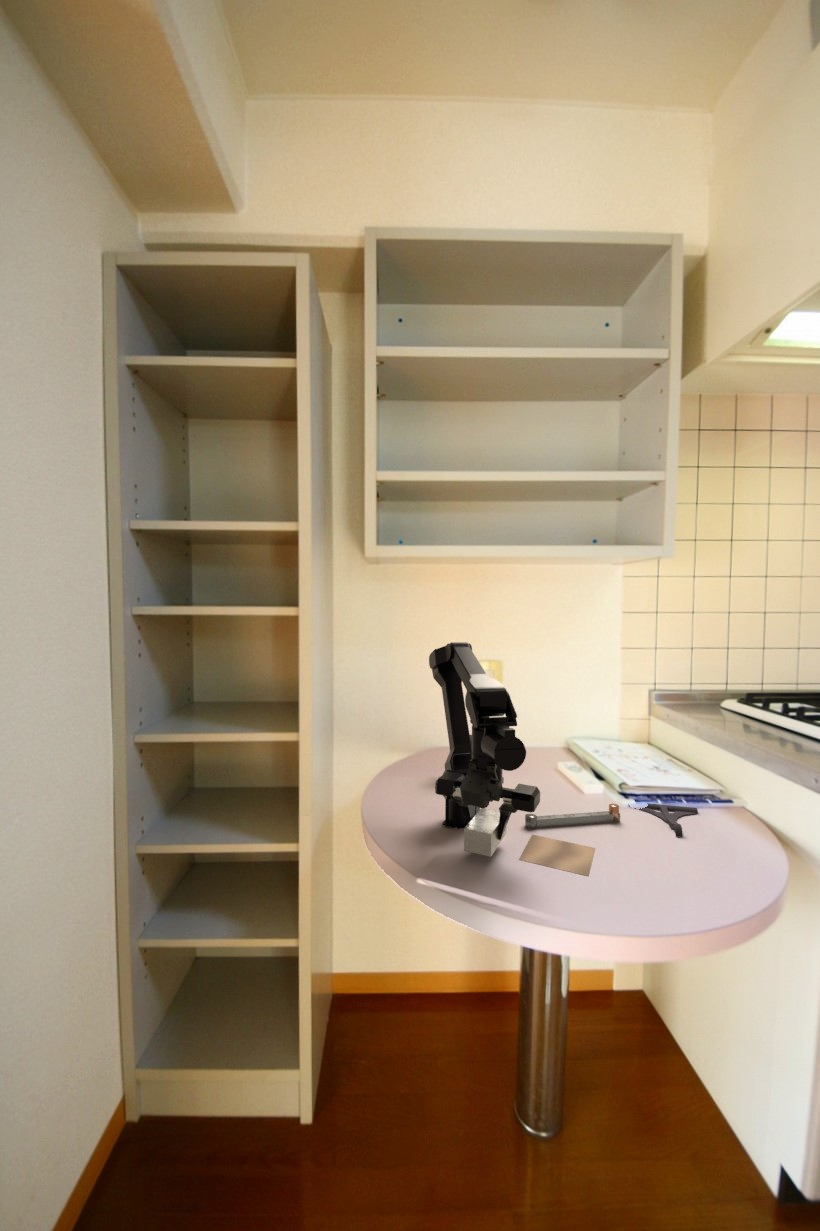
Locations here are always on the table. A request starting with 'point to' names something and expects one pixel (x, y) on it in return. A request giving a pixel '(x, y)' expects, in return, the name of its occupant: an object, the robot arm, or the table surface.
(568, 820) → the lever
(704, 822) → the table surface
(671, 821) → the bracket
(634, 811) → the table surface
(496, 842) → the stone-textured block
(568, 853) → the plate
